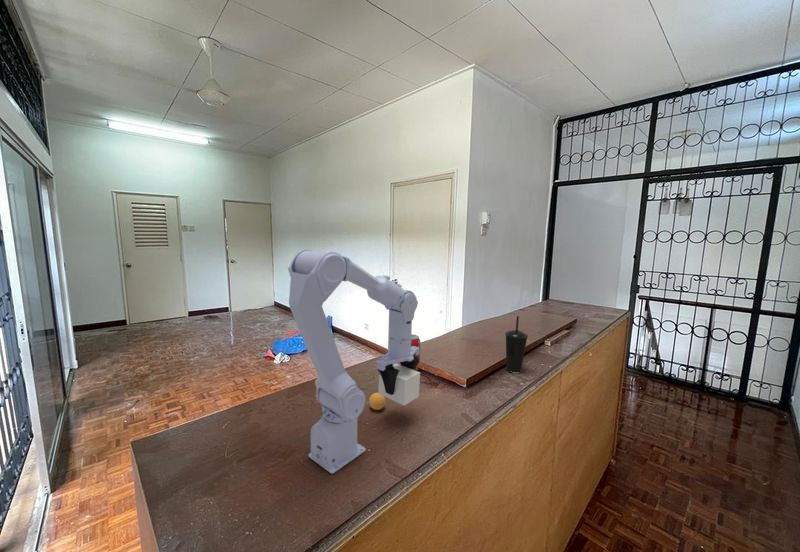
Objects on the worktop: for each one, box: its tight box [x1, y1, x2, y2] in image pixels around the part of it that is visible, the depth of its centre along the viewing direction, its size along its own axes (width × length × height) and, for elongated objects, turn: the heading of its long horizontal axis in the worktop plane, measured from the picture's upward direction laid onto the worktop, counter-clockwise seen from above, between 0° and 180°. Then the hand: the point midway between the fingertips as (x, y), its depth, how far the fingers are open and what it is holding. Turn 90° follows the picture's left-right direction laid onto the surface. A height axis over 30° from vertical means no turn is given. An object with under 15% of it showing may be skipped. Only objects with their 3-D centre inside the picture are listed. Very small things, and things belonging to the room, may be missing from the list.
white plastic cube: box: [377, 363, 421, 407], centre depth 81 cm, size 6×8×6 cm
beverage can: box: [411, 333, 421, 371], centre depth 113 cm, size 6×6×12 cm
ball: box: [368, 392, 386, 411], centre depth 87 cm, size 4×4×4 cm
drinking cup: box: [504, 315, 529, 372], centre depth 113 cm, size 8×8×20 cm
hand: (398, 388), depth 82 cm, fingers closed on white plastic cube, 6 cm apart
